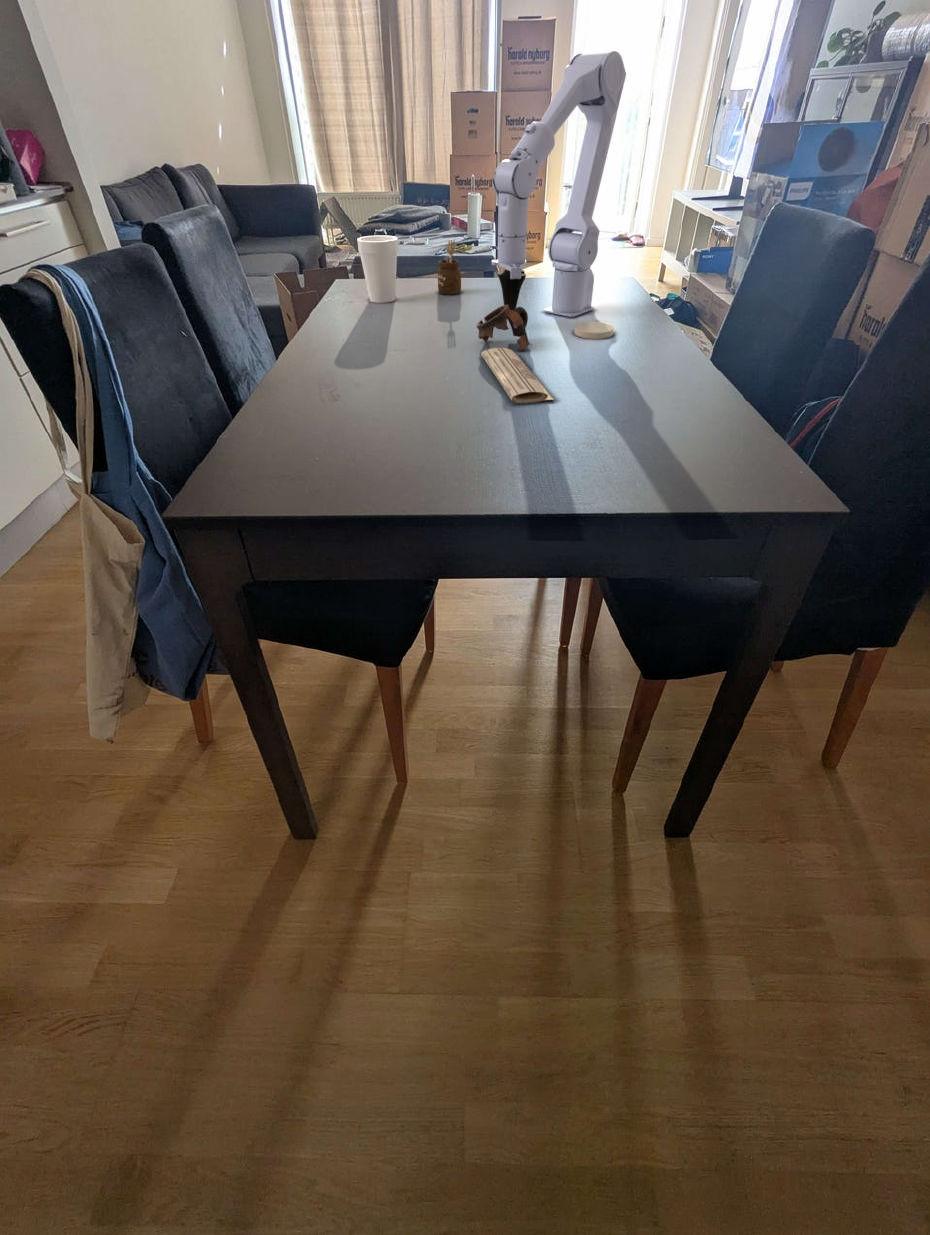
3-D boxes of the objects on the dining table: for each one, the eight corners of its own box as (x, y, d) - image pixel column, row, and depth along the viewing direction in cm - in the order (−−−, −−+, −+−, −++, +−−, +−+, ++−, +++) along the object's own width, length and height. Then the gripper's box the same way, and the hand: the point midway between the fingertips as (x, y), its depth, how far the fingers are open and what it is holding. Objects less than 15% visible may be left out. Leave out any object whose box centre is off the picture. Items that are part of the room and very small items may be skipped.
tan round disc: (587, 325, 132) (588, 319, 131) (620, 332, 128) (621, 326, 127) (566, 334, 127) (567, 328, 127) (599, 341, 123) (600, 335, 123)
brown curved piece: (518, 358, 117) (497, 318, 113) (484, 371, 124) (463, 334, 120) (547, 326, 122) (528, 287, 118) (513, 341, 129) (494, 304, 125)
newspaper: (481, 358, 116) (481, 348, 115) (517, 356, 117) (518, 346, 116) (511, 404, 98) (512, 393, 97) (554, 400, 99) (554, 389, 98)
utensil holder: (457, 288, 160) (456, 235, 152) (464, 294, 155) (463, 239, 147) (435, 290, 159) (433, 236, 151) (441, 296, 154) (439, 240, 146)
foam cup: (409, 298, 153) (405, 237, 144) (386, 306, 147) (380, 243, 138) (379, 293, 157) (373, 234, 148) (355, 301, 151) (348, 239, 142)
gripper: (488, 229, 126) (488, 301, 135) (496, 242, 115) (494, 319, 124) (522, 228, 127) (519, 300, 136) (533, 241, 116) (529, 318, 124)
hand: (510, 309), depth 130 cm, fingers closed
